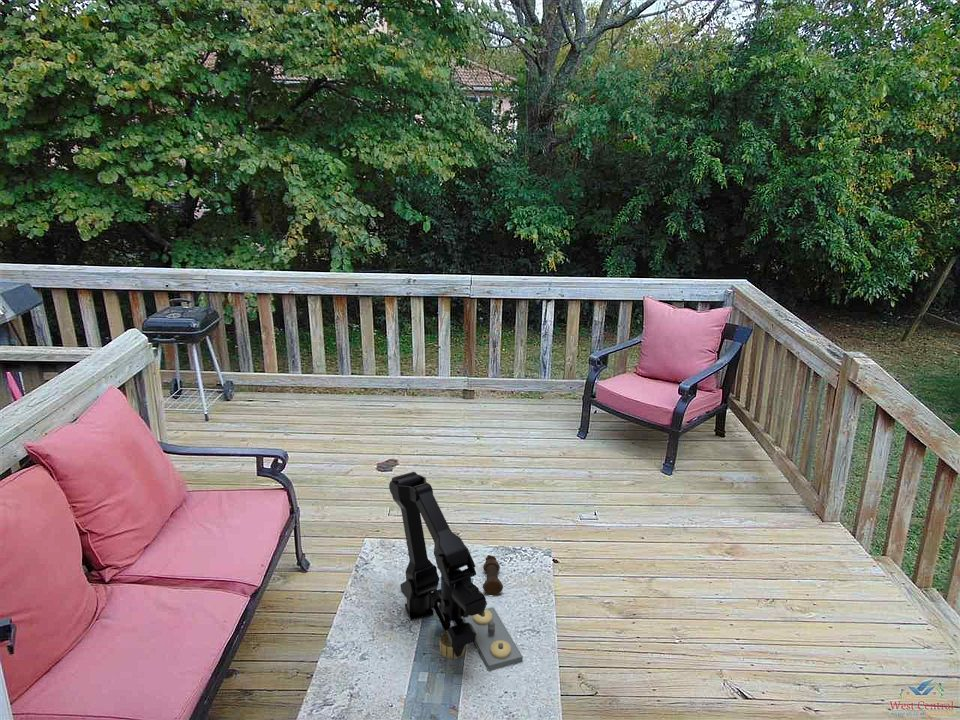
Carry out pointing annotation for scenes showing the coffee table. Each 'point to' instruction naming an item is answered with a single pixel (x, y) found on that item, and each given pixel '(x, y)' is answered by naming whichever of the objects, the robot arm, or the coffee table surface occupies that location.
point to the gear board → (493, 640)
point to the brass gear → (447, 646)
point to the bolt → (492, 577)
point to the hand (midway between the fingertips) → (452, 643)
